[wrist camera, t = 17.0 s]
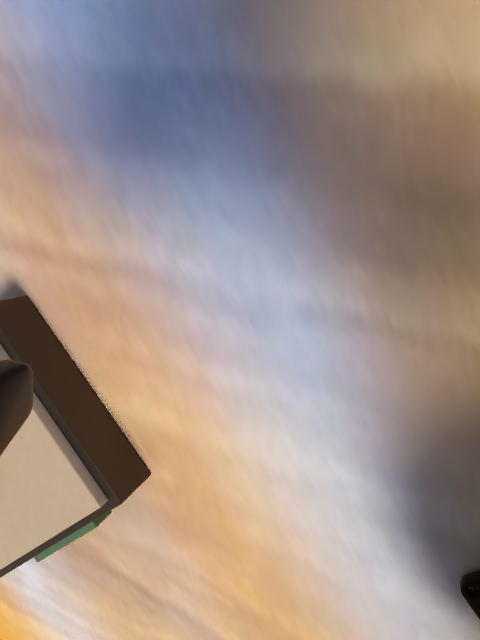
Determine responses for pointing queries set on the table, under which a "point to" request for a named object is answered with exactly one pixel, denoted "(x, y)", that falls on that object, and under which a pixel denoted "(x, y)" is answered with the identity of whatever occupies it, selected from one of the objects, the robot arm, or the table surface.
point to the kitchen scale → (57, 449)
